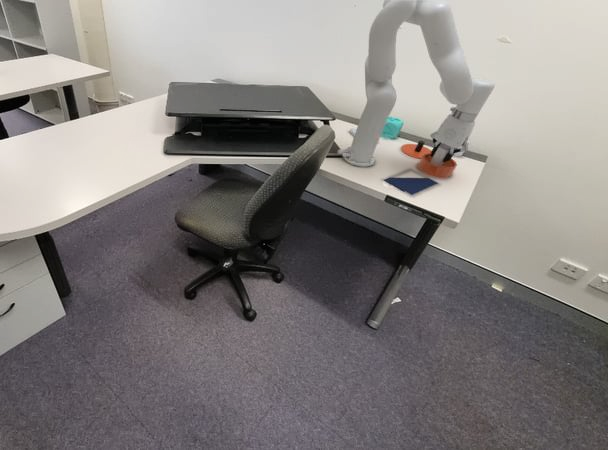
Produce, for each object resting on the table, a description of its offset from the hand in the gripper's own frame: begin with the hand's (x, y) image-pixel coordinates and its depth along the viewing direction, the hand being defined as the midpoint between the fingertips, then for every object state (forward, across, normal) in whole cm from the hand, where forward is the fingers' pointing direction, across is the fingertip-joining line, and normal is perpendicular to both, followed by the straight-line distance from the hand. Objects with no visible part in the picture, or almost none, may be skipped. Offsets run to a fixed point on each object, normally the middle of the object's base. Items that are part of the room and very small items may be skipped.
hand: (439, 158), depth 133 cm
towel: (+6, +1, -16) cm, 17 cm away
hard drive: (+7, -35, -1) cm, 36 cm away
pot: (+6, 0, 0) cm, 6 cm away
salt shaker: (+5, 0, 0) cm, 5 cm away
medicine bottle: (+6, -5, +22) cm, 24 cm away
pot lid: (+5, -13, +8) cm, 16 cm away
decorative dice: (+6, -30, +11) cm, 33 cm away
